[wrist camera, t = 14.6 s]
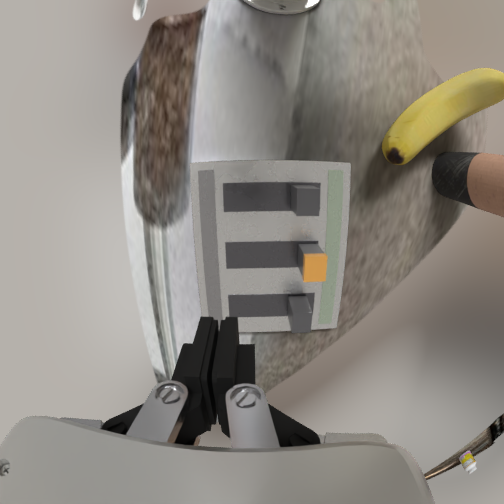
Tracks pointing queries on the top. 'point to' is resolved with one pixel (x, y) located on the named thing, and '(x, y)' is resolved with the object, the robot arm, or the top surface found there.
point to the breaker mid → (312, 262)
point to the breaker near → (305, 200)
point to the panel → (267, 239)
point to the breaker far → (299, 314)
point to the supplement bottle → (468, 462)
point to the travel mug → (471, 179)
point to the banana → (441, 112)
